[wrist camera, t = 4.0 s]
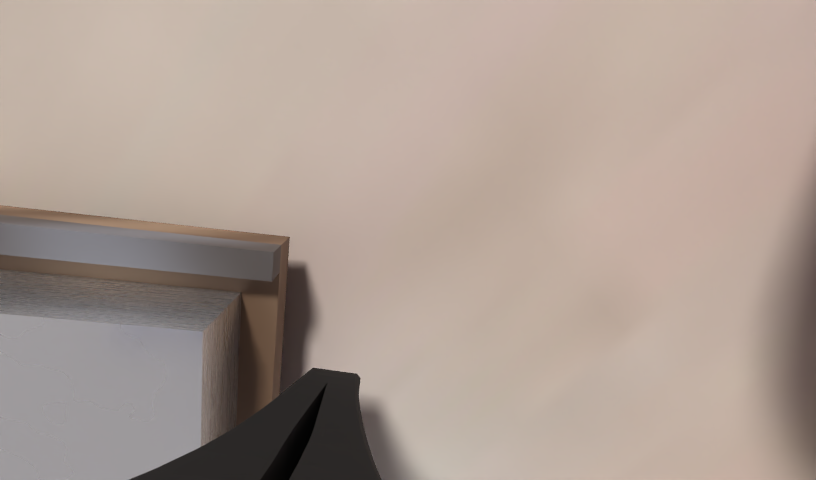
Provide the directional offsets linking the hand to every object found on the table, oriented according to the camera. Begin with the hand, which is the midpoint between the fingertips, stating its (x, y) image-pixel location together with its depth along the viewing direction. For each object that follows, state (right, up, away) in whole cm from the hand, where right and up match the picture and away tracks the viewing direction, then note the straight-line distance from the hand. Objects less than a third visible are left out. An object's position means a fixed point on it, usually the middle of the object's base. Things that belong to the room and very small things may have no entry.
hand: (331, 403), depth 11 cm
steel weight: (-7, +1, +1) cm, 7 cm away
